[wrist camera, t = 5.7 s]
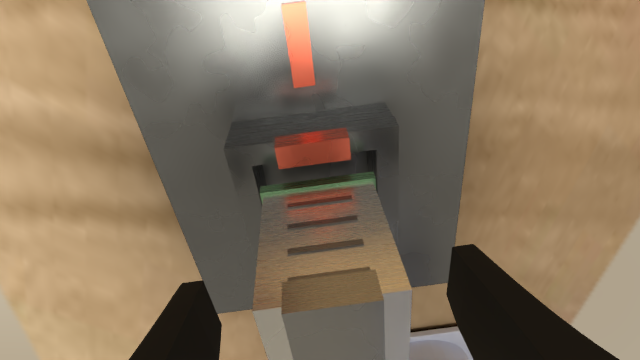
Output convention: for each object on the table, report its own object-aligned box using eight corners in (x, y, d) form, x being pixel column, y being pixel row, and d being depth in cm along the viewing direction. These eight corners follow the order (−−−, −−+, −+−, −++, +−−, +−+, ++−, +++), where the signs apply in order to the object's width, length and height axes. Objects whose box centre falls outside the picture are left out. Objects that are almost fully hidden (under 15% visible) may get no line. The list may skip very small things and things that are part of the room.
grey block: (376, 264, 15) (419, 421, 10) (282, 277, 15) (280, 440, 10) (372, 151, 12) (430, 294, 7) (256, 167, 12) (235, 320, 7)
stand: (444, 271, 21) (473, 330, 18) (219, 301, 21) (206, 366, 18) (481, -63, 12) (549, -65, 9) (94, -12, 12) (25, 4, 9)
